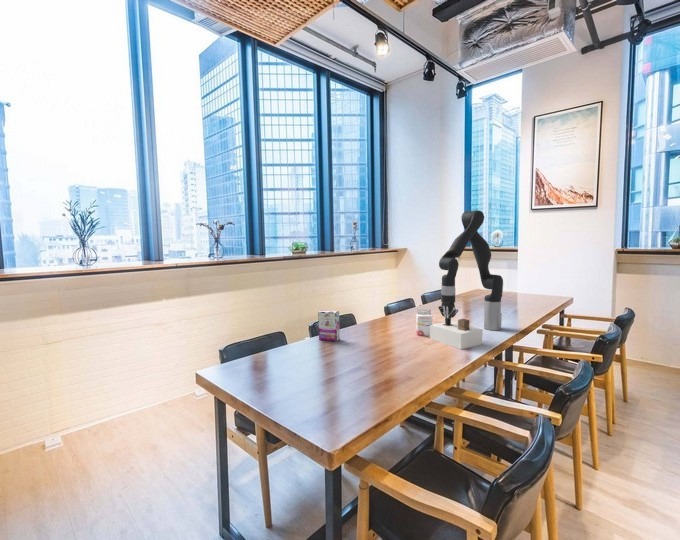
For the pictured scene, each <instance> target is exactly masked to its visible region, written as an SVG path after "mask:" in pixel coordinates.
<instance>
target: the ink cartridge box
mask: <svg viewBox="0 0 680 540" xmlns="http://www.w3.org/2000/svg"><path fill="white" fill-rule="evenodd" d="M432 324H433V315H432V310H431V308H422V309H421V308H416V323H415V325H416V330H415V331H416V332H415V333H416V336H420V337H421V336H423V337H424V336H427V337H430V325H432Z"/></svg>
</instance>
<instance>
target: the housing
mask: <svg viewBox="0 0 680 540" xmlns="http://www.w3.org/2000/svg"><path fill="white" fill-rule="evenodd" d="M443 324H446V323H445V321H443V322H438V323H432V325H430V336H429V339H431V340H433V341H435V342H438V343H441V344H445V345H447V346H450V347H453V348H456V349H459V350H464V349H468V348H472V347H477V346H480V345H483V335H484V334H483V332H484V331H483V330H484V328H480V327H475V326H473V325H469V330H466V331H463V330H459V329H458V321H457V322H456V321H453V320H451V324H452V326H445V325H443Z"/></svg>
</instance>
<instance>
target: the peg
mask: <svg viewBox="0 0 680 540" xmlns="http://www.w3.org/2000/svg"><path fill="white" fill-rule="evenodd" d="M457 323H458V329H459V330H463V331H466V330H469V326H470V319H466V318H461V319H458V320H457Z"/></svg>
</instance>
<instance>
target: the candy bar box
mask: <svg viewBox="0 0 680 540" xmlns="http://www.w3.org/2000/svg"><path fill="white" fill-rule="evenodd" d="M317 316H318V319H317V320H318V339H319V340H320V341H327V342H338V341H340V340H341V338H340V337H341V335H340V334H341V332H340V330H341V329H340V311H339V310H326V309H325V310H323V309H321V310H319V311H318V312H317Z"/></svg>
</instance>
